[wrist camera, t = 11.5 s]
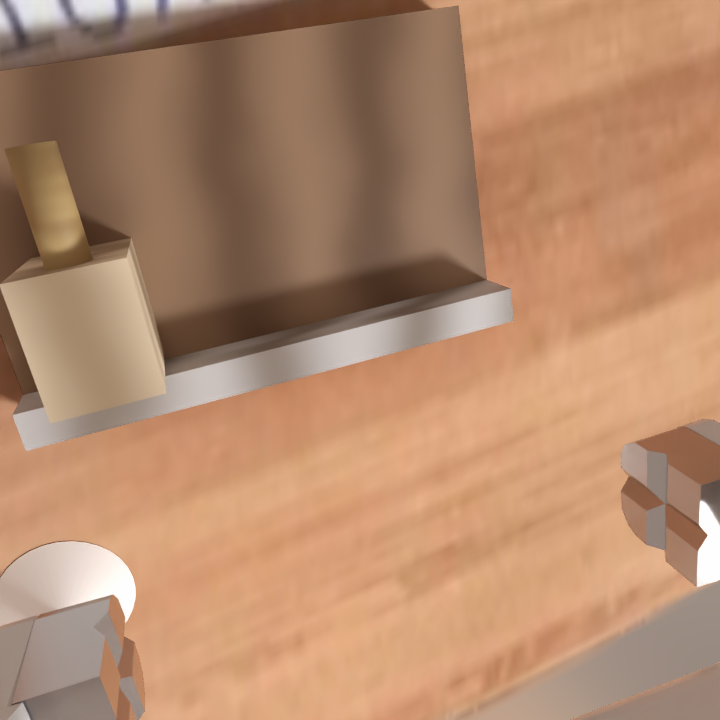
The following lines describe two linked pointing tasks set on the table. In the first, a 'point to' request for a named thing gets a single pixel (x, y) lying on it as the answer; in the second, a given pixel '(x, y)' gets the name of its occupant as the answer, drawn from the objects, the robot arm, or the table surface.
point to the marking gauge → (78, 301)
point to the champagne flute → (63, 580)
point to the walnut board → (264, 201)
